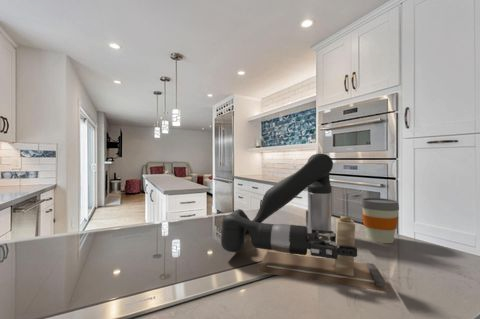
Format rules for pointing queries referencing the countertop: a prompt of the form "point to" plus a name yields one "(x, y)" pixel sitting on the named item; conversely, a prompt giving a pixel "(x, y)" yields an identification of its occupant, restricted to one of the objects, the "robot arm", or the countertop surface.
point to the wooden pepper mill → (347, 238)
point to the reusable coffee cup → (380, 219)
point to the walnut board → (321, 270)
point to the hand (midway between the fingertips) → (354, 245)
